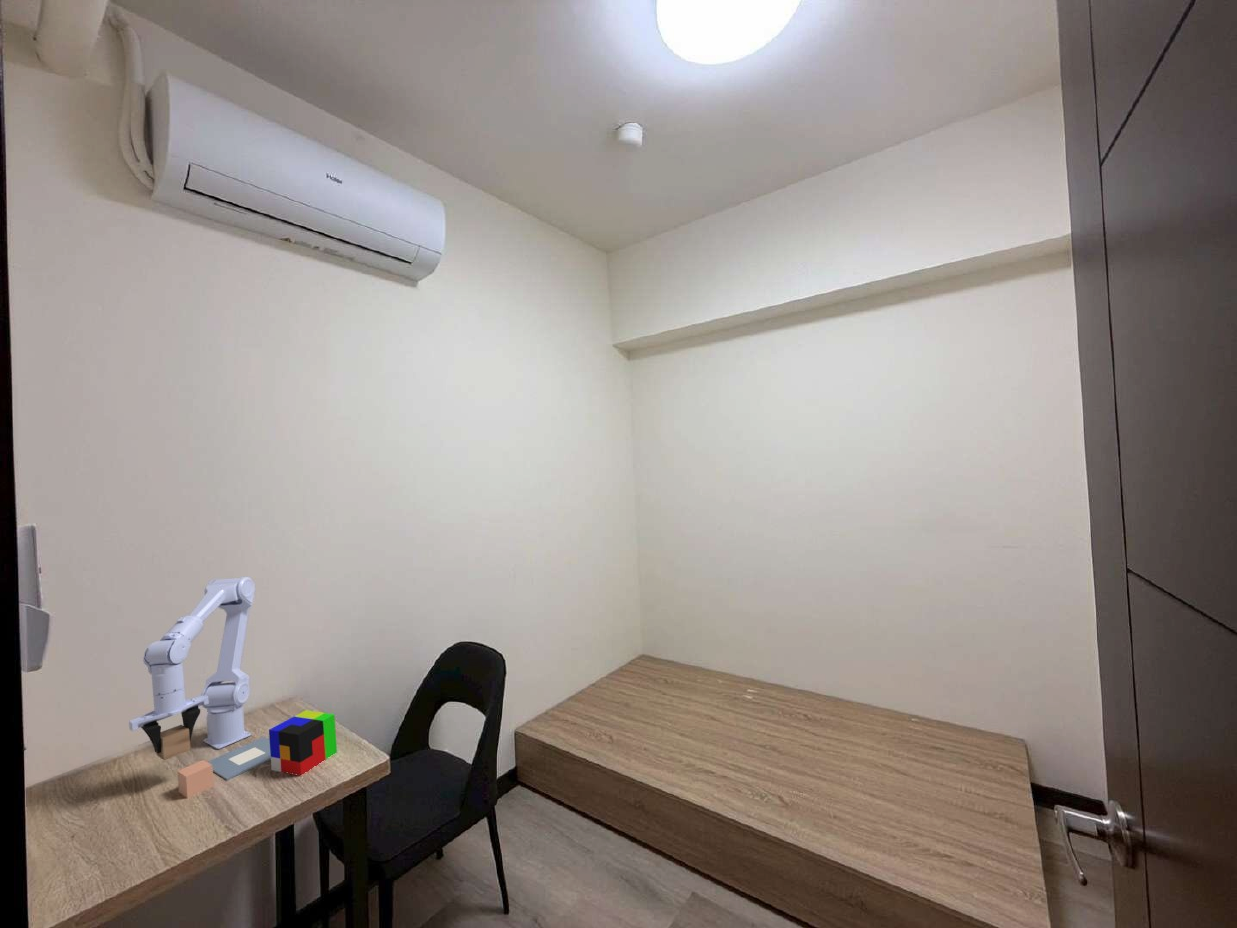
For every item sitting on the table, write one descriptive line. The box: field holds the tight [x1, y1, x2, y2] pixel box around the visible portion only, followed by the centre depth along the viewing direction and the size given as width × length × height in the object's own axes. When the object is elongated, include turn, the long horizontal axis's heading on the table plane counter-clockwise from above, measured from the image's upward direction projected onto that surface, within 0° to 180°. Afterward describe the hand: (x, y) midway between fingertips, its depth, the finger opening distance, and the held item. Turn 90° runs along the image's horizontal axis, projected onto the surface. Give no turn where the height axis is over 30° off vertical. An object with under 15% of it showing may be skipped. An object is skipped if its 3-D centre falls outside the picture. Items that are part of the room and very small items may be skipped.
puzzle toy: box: [268, 710, 338, 776], centre depth 130 cm, size 10×10×10 cm
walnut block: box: [156, 724, 191, 761], centre depth 125 cm, size 5×5×5 cm
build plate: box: [207, 736, 271, 781], centre depth 133 cm, size 14×14×1 cm
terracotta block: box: [177, 759, 215, 799], centre depth 121 cm, size 5×5×5 cm
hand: (173, 745), depth 125 cm, fingers closed on walnut block, 5 cm apart
